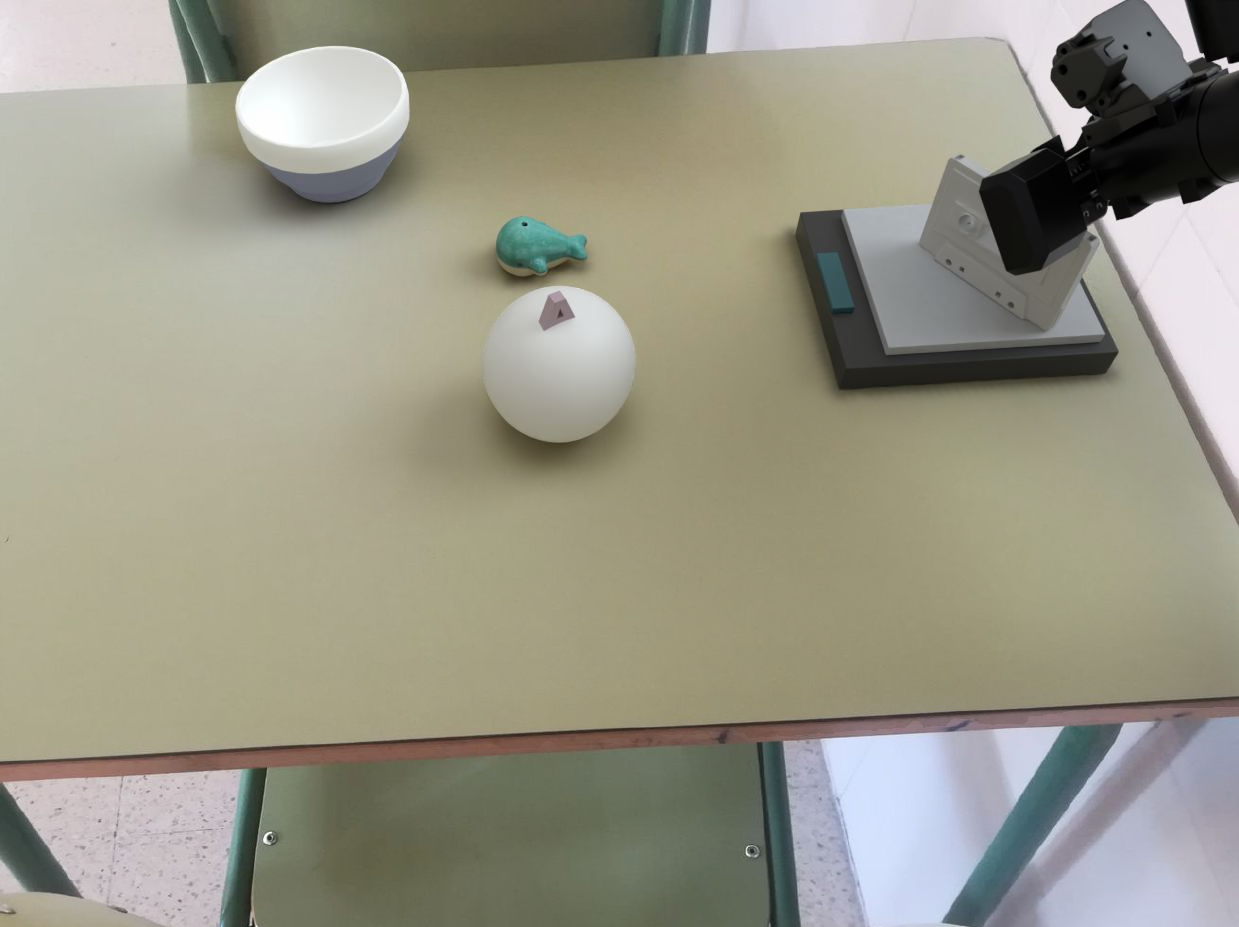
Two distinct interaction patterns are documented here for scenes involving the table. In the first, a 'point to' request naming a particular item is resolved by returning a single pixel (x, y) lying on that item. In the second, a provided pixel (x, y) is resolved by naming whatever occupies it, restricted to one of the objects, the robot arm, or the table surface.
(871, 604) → the table surface
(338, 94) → the bowl
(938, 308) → the scale
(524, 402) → the ornament
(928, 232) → the cassette
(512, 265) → the whale figurine
